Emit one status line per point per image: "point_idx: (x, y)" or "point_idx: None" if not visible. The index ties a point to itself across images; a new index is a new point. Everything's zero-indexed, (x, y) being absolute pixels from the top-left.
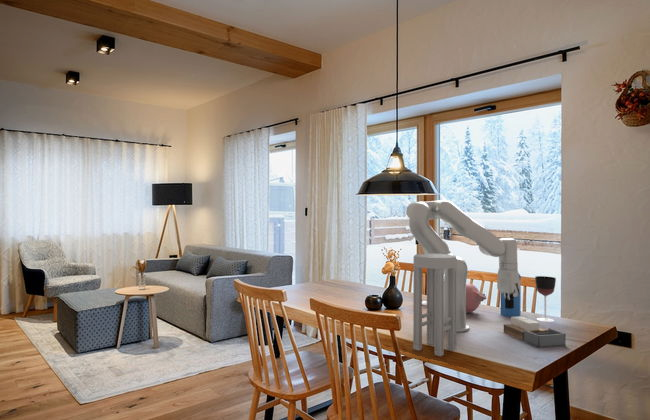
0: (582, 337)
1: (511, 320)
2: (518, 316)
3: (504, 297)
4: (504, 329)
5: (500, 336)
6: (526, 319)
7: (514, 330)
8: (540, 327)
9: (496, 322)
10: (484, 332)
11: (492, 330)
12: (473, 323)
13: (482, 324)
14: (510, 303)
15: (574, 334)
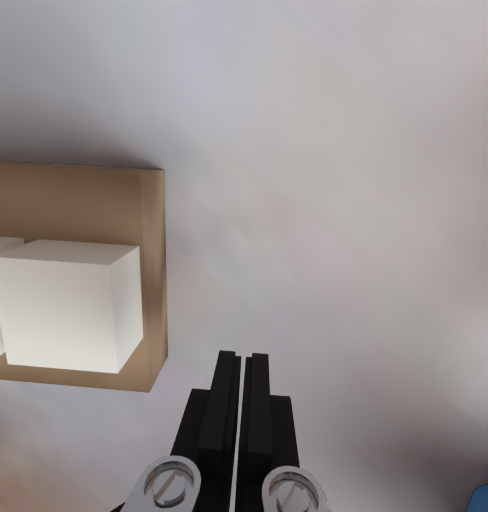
0: (10, 500)
1: (120, 254)
2: (111, 343)
3: (316, 496)
4: (142, 169)
5: (74, 70)
6: (3, 335)
7: (3, 163)
8: (13, 376)
9: (415, 308)
10: (201, 6)
11: (236, 123)
12: (479, 102)
13: (416, 162)
14: (181, 426)
15: (61, 507)
